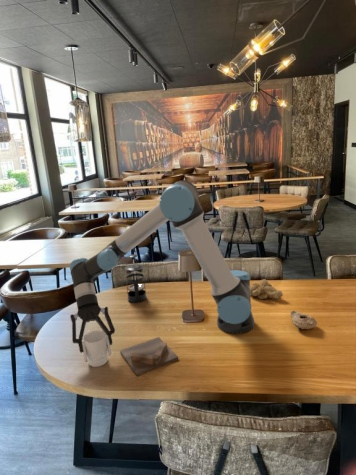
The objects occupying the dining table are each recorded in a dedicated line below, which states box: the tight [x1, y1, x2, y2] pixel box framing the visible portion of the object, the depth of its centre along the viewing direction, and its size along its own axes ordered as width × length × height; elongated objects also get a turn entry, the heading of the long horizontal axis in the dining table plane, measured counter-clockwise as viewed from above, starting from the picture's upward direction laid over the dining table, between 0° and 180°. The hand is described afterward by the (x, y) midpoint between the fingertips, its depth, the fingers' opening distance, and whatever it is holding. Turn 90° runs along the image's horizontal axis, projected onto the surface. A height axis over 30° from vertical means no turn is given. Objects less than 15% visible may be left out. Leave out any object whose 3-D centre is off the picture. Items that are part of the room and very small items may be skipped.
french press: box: [124, 254, 148, 304], centre depth 168 cm, size 12×9×23 cm
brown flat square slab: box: [119, 336, 179, 377], centre depth 123 cm, size 16×16×3 cm
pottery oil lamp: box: [290, 310, 318, 330], centre depth 137 cm, size 9×12×7 cm
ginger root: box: [250, 278, 283, 300], centre depth 165 cm, size 16×16×8 cm
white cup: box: [82, 330, 108, 368], centre depth 121 cm, size 8×8×10 cm
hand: (98, 357), depth 118 cm, fingers closed on white cup, 8 cm apart
